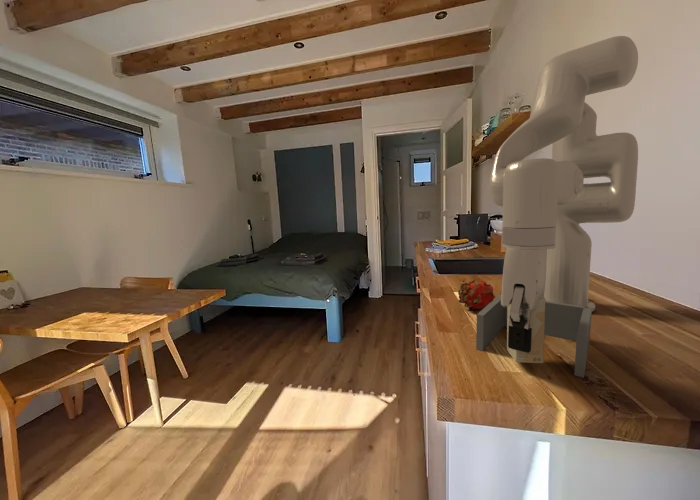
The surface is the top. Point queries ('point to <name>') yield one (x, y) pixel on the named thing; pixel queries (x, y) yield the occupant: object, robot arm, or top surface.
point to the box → (537, 335)
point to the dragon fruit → (476, 294)
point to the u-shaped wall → (558, 323)
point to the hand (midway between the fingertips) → (524, 341)
